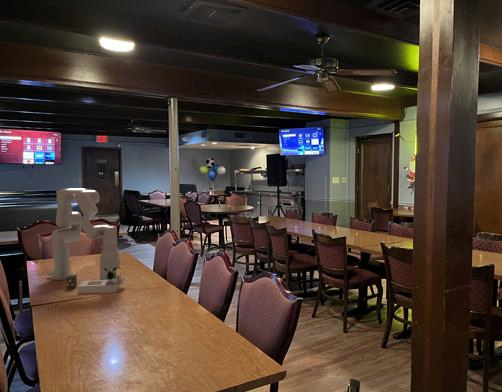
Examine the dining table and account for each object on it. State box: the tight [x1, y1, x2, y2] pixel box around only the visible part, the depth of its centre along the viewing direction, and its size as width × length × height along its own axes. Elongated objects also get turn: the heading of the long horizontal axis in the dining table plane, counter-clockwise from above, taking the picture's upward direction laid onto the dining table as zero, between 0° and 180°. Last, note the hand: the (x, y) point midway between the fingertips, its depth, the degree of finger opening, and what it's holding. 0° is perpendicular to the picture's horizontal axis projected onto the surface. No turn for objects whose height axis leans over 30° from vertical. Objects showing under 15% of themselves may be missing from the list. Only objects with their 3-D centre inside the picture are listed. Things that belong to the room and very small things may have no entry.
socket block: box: [77, 279, 121, 295], centre depth 221 cm, size 20×12×4 cm, turn 99°
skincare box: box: [99, 254, 118, 280], centre depth 243 cm, size 8×7×16 cm
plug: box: [66, 274, 78, 290], centre depth 224 cm, size 4×6×7 cm, turn 8°
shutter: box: [105, 272, 126, 285], centre depth 222 cm, size 9×10×4 cm
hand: (110, 279), depth 222 cm, fingers closed
